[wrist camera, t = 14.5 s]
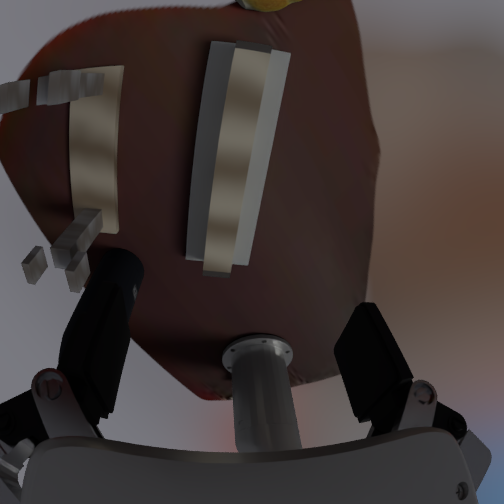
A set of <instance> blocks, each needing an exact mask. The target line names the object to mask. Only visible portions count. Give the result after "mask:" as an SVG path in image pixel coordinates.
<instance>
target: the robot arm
mask: <svg viewBox="0 0 504 504" xmlns="http://www.w3.org/2000/svg"><path fill="white" fill-rule="evenodd" d="M129 343H130V330H129V325H128V320H127V314H126V308H125V302H124V296H123V290H122V287H118V284H117V282H110V281H102V282H101V284H100V286H99V288H98V290H97V292H96V294H95V296H94V298H93V300H92V302H91V305H90V307H89V309H88V311H87V312H82V313H81V314H80V315H79V317H78V319H77V321H76V324H75V326H74V328H73V330H72V332H71V335H70V337H69V339H68V342H67V344H66V346H65V349H64V351H63V354H62V356H61V359H60V361H59V364H58V366H57V369H54V368H46V369H43V370H41V371H40V372H38V373H37V374H36V375H35V376H34V378H33V380H32V384H31V389H30V390H28V391H26V392H24V393H22V394H20V395H18V396H16V397H14V398H12V399H10V400H8V401H6V402H4V403H1V404H0V504H478V500H477V496H476V491H477V489H478V487H479V485H480V483H481V482H482V480H483V477H484V476H485V474H486V472H487V470H488V467H489V465H490V463H491V453H490V450H489V449H488V448H487V447H486V446H485V445H484V444H483V443H482V442H481V441H480V440H479V439H478V438H477V437H476V436H475V435H474V434H473V433H472V432H471V431H470V430H468V431H467V425H466V421H465V419H464V418H463V417H462V415H460V414H459V413H457V412H456V411H454V410H452V409H450V408H449V407H447V406H445V405H443V404H442V403H440V402H438V401H437V393H436V390H435V388H434V387H433V386H432V385H431V384H430V383H429V382H427V381H424V380H417V381H415V382H414V383H413V382H412V379H413V378H414V377H413V375H412V373H411V371H410V368H409V366H408V364H407V362H406V360H405V358H404V357H403V354H402V352H401V351H400V348H399V347H398V345H397V343H396V341H395V339H394V337H393V335H392V333H391V331H390V329H389V328H388V326H387V324H386V322H385V320H384V318H383V317H382V315H381V313H380V311H379V309H378V308H377V306H376V304H375V303H369V302H362V303H360V304H359V306H356V308H355V310H354V312H353V314H352V315H351V317H350V319H349V321H348V323H347V325H346V327H345V329H344V330H343V332H342V334H341V336H340V338H339V339H338V341H337V343H336V345H335V347H334V355H335V358H336V361H337V364H338V367H339V370H340V373H341V376H342V379H343V382H344V385H345V388H346V391H347V394H348V397H349V400H350V404H351V407H352V410H353V413H354V416H355V417H357V418H358V421H359V423H362V422H367V421H370V420H371V423H372V426H371V428H370V430H369V433H368V435H367V437H366V438H365V439H361V440H355V441H350V442H345V443H340V444H334V445H327V446H321V447H314V448H305V449H302V445H301V440H300V435H299V430H298V425H297V419H296V414H295V409H294V404H293V398H292V393H291V388H290V383H289V378H288V372H287V366H288V365H289V364H290V362H291V360H292V357H293V352H292V348H291V346H290V344H289V343H288V342H287V341H286V340H284V339H282V338H280V337H277V336H273V335H265V334H259V335H250V336H246V337H242V338H240V339H237V340H235V341H234V342H232V343H230V344H229V345H228V346H227V347H226V348H225V350H224V351H223V354H222V362H223V365H224V367H225V368H226V369H227V370H228V371H229V372H231V373H232V392H233V410H234V428H235V443H236V447H237V450H238V452H239V453H229V452H225V453H224V452H200V451H186V450H176V449H167V448H159V447H151V446H144V445H137V444H131V443H126V442H120V441H113V440H108V439H105V438H104V437H103V435H102V433H101V432H100V430H99V428H98V427H97V424H99V420H100V417H101V418H105V419H108V414H109V413H113V410H114V406H115V401H116V396H117V392H118V387H119V383H120V379H121V374H122V370H123V366H124V362H125V358H126V354H127V351H128V347H129ZM27 458H30V459H29V461H28V464H27V468H26V471H25V476H24V480H23V486H22V488H21V487H20V485H19V482H18V473H19V471H20V470H21V468H22V467H23V466H24V465H23V462H25V460H26V459H27Z"/></svg>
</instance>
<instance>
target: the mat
mask: <svg viewBox="0 0 504 504" xmlns="http://www.w3.org/2000/svg"><path fill="white" fill-rule="evenodd" d="M235 46H236V43H228V42H218V41H212V42H211V47H210V52H209V57H208V63H207V68H206V74H205V80H204V86H203V92H202V99H201V106H200V112H199V120H198V127H197V135H196V143H195V151H194V160H193V170H192V180H191V191H190V202H189V215H188V229H187V246H186V259H188V260H198V261H204V255H205V246H206V236H207V227H208V218H209V210H210V201H211V193H212V185H213V178H214V171H215V163H216V156H217V149H218V143H219V136H220V130H221V123H222V117H223V111H224V105H225V99H226V94H227V88H228V82H229V77H230V72H231V66H232V61H233V56H234V51H235ZM290 55H291V53H287V52H282V51H277V50H272V51H271V55H270V60H269V65H268V70H267V75H266V80H265V85H264V90H263V95H262V100H261V105H260V110H259V116H258V121H257V126H256V131H255V136H254V142H253V147H252V152H251V158H250V163H249V169H248V174H247V180H246V185H245V191H244V197H243V202H242V208H241V214H240V219H239V225H238V231H237V237H236V243H235V248H234V254H233V260H232V264H239V265H248V263H249V258H250V253H251V248H252V243H253V238H254V233H255V228H256V223H257V218H258V213H259V208H260V203H261V198H262V193H263V188H264V183H265V178H266V173H267V168H268V163H269V159H270V154H271V149H272V144H273V139H274V134H275V129H276V124H277V119H278V114H279V109H280V104H281V99H282V94H283V90H284V85H285V80H286V75H287V70H288V65H289V60H290Z"/></svg>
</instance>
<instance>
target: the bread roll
mask: <svg viewBox="0 0 504 504" xmlns="http://www.w3.org/2000/svg"><path fill="white" fill-rule="evenodd" d="M236 1H237V2H238V3H239V4H240V5H241V6H242V7H243V8H245V9H250V10H256V11H262V12H270V11H277V10H280V9H282V8H284V7H286V6H287V5H288V4H291V3H294V2H298V1H302V0H236Z"/></svg>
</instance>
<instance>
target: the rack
mask: <svg viewBox="0 0 504 504" xmlns="http://www.w3.org/2000/svg"><path fill="white" fill-rule="evenodd" d="M123 71H124V66H107V67H96V68H87V69H79V70H59V71H54V72H50V75H49V76H44V77H39V78H38V89H37V105H41V104H47V105H55V104H61V103H66V102H70V123H69V152H70V175H71V189H72V200H73V209H74V217H75V220H74V221H73V222H72V223H71V224H70V225H69V226H68V227H67V228H66V230H65V231H64V232H63V233H62V234H61V235H60V237H59V238H58V239H57V240H56V241H55V242H54V244H53V245H52V246H51V247H50V249H51V253H52V258H53V262H54V265H55V268H61V269H65V274H66V277H67V281H68V285H69V288H70V291H71V292H76V293H80V291H81V289H82V287H83V285H84V284H85V282H86V280H87V278H88V276H89V275H90V268H89V263H88V258H87V252H86V251H87V249H88V248H89V246H90V245H91V243H92V242H93V241H94V239H95V238H96V236H97V235H98V234H99V232H104V233H114V234H117V232H118V231H119V222H118V201H117V141H118V121H119V108H120V97H121V87H122V79H123ZM29 86H30V80H22V81H15V82H8V83H5V84H2V85H0V114H3V113H7V112H11V111H14V110H18V109H21V108H25V107H28V103H29ZM21 264H22V267H23V270H24V273H25V276H26V279H27V282H28V283H29V284H34V285H35V284H36V283H37V281H38V280H39V278H40V277H41V275H42V274H43V273H44V271H45V270H46V268H47V267H48V265H47V262H46V258H45V254H44V250H43V247H41V246H35V247H34V248H33V250H32V251H31V252H30V253H29V254H28V256H27V257H26V258H25V259H24V260H23V262H22V263H21Z"/></svg>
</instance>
